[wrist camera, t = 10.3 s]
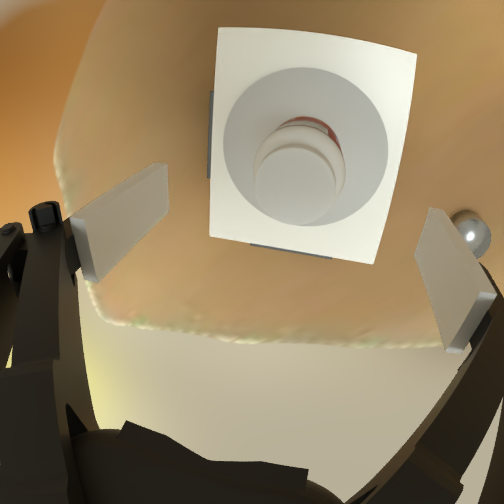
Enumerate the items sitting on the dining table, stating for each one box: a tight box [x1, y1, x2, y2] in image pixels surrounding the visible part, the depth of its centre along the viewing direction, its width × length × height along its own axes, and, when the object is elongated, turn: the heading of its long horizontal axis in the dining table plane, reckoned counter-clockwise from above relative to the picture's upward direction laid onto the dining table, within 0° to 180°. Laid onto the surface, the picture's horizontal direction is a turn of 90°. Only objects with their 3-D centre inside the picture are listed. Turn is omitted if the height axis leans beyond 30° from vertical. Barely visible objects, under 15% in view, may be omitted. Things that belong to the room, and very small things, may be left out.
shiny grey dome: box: [450, 210, 491, 259], centre depth 29 cm, size 5×5×3 cm
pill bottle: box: [253, 116, 346, 225], centre depth 22 cm, size 6×6×11 cm
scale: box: [207, 27, 417, 264], centre depth 29 cm, size 22×18×4 cm
